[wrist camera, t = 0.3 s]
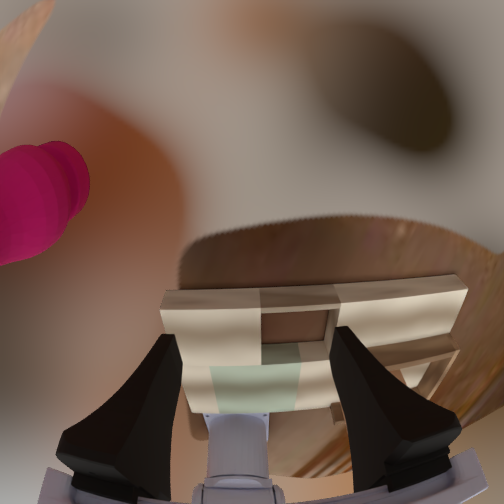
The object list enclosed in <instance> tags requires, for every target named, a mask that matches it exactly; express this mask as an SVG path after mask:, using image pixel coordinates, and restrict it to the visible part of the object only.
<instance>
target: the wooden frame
mask: <svg viewBox="0 0 504 504" xmlns="http://www.w3.org/2000/svg"><path fill="white" fill-rule="evenodd" d="M367 349H368V350H369V351H370V352H371V353H372V354H373V355H374V357H375V358H376V359H377V360H378V361H379V362H380V363H381V364H382V365H383V366H384V367H385V368H386V369H387V370H388V371H393V370H398V369H403V368H407V367H412V366H417V365H421V364H425V363H429V362H431V363H430V364H429V366H428V368H427V370H426V372H425V373H424V375H423V377H422V379H421V380H420V382H419V384H418V385H417V386H416V387H412V388H410V389H412V390H413V391H415V392H416V393H418V394H419V395H421V396H422V397H424V398H426V399H427V400H429V399H430V398H431V396H432V395H433V393H434V392H435V390H436V389H437V387H438V386H439V384H440V383H441V381H442V380H443V378H444V376H445V375H446V373H447V372H448V370H449V368H450V367H451V365H452V363H453V362H454V360H455V358H456V356H457V355H458V353H459V351H460V348H459V346H458V345H457V343H456V342H455V340H454V339H453V337H452V336H451V334H450V333H445V334H441V335H436V336H431V337H426V338H421V339H416V340H411V341H405V342H399V343H393V344H387V345H380V346H374V347H367ZM330 409H331V413H332V418H333V422H334V425H338V424H345V420H344V416H343V412H342V408H341V404H340V402H335V403H331V405H330Z"/></svg>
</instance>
